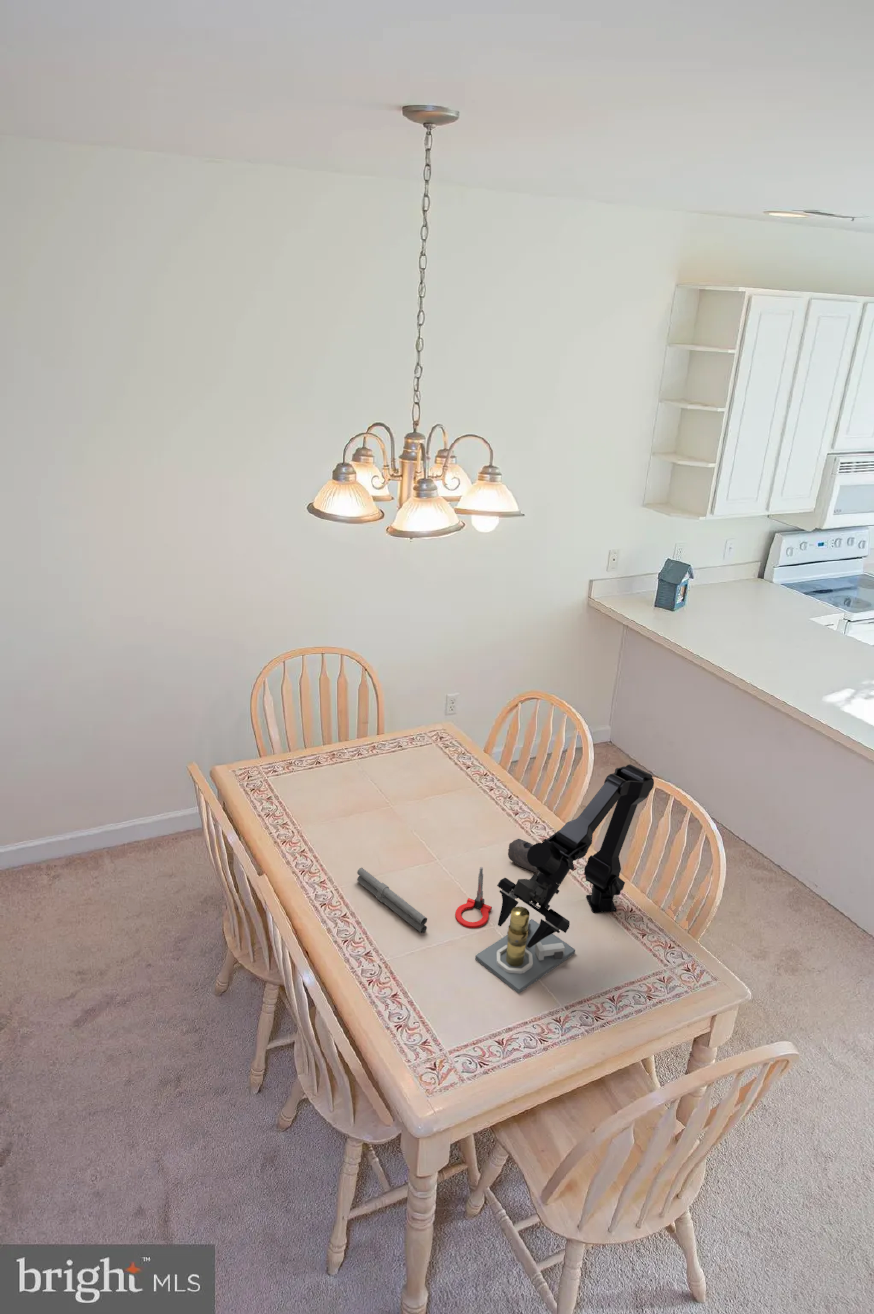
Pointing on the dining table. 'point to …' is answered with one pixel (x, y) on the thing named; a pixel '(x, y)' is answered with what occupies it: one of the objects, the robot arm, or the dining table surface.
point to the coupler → (517, 936)
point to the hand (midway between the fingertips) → (513, 936)
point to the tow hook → (477, 903)
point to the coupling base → (525, 959)
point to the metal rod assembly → (392, 900)
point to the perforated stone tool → (520, 854)
